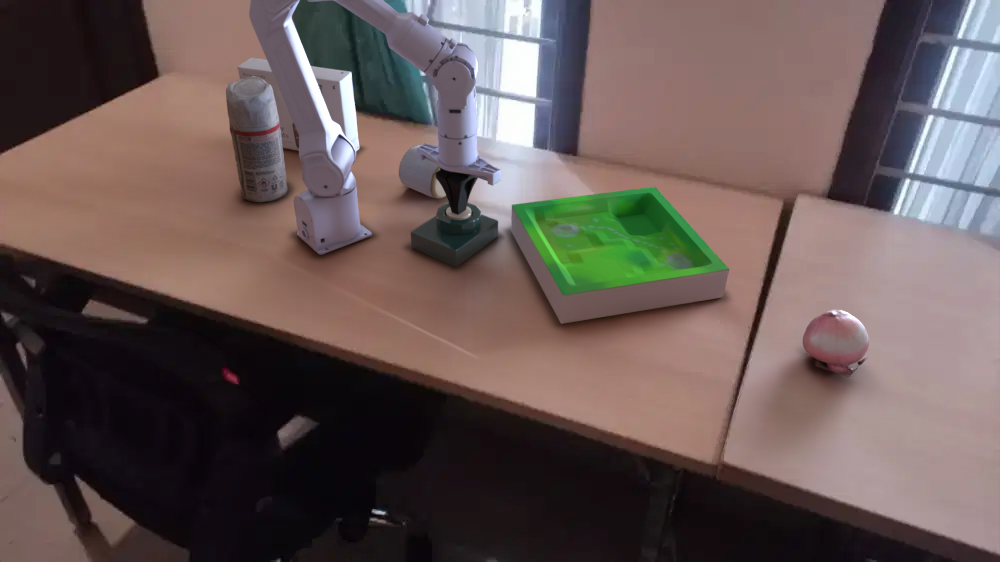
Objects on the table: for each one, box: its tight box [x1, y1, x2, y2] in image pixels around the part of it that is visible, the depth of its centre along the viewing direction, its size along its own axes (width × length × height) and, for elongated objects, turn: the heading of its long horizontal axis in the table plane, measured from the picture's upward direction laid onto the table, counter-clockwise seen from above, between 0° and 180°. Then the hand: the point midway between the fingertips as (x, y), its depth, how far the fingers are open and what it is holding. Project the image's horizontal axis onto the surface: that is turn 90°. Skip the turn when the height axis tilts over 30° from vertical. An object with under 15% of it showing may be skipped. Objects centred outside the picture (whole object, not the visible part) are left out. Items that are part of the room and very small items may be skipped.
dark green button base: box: [410, 202, 499, 268], centre depth 122 cm, size 11×9×5 cm
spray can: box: [225, 76, 289, 203], centre depth 130 cm, size 8×8×20 cm
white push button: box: [446, 207, 471, 220], centre depth 122 cm, size 4×4×2 cm
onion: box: [802, 309, 870, 378], centre depth 99 cm, size 8×8×7 cm
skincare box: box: [237, 57, 360, 152], centre depth 146 cm, size 21×6×16 cm, turn 73°
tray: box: [510, 186, 730, 325], centre depth 118 cm, size 25×25×5 cm
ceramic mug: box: [398, 144, 447, 200], centre depth 136 cm, size 11×8×8 cm
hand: (458, 211), depth 121 cm, fingers closed, pressing on white push button
